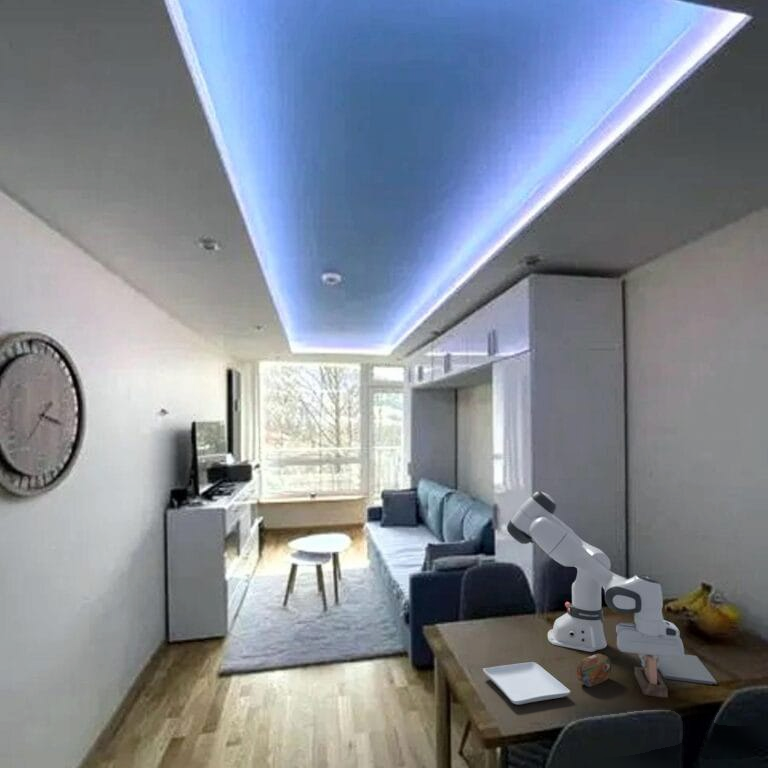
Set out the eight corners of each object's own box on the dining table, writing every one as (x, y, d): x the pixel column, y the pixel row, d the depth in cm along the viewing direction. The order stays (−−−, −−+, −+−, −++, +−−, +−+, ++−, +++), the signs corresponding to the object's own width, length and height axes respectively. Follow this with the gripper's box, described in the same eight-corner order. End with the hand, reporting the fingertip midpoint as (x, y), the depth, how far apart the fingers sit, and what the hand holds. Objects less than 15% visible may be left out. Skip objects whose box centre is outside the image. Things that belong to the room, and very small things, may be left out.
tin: (583, 689, 166) (582, 663, 167) (575, 685, 169) (574, 659, 170) (612, 678, 174) (611, 653, 174) (604, 674, 176) (603, 650, 177)
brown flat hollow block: (643, 694, 163) (643, 685, 163) (634, 675, 176) (634, 666, 176) (667, 697, 161) (667, 688, 162) (656, 678, 174) (656, 669, 174)
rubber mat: (664, 678, 174) (664, 675, 174) (649, 653, 193) (649, 650, 193) (716, 685, 170) (716, 682, 170) (696, 658, 189) (696, 655, 189)
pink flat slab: (650, 688, 165) (649, 660, 166) (644, 677, 173) (643, 650, 173) (657, 689, 165) (656, 661, 165) (651, 677, 172) (650, 650, 173)
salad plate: (572, 701, 159) (572, 690, 160) (513, 712, 153) (513, 700, 154) (534, 670, 180) (534, 660, 180) (481, 678, 174) (481, 668, 174)
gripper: (617, 625, 170) (618, 667, 169) (684, 632, 165) (686, 675, 163) (614, 618, 176) (615, 659, 175) (678, 624, 171) (680, 666, 170)
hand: (650, 667), depth 169 cm, fingers closed on pink flat slab, 2 cm apart
